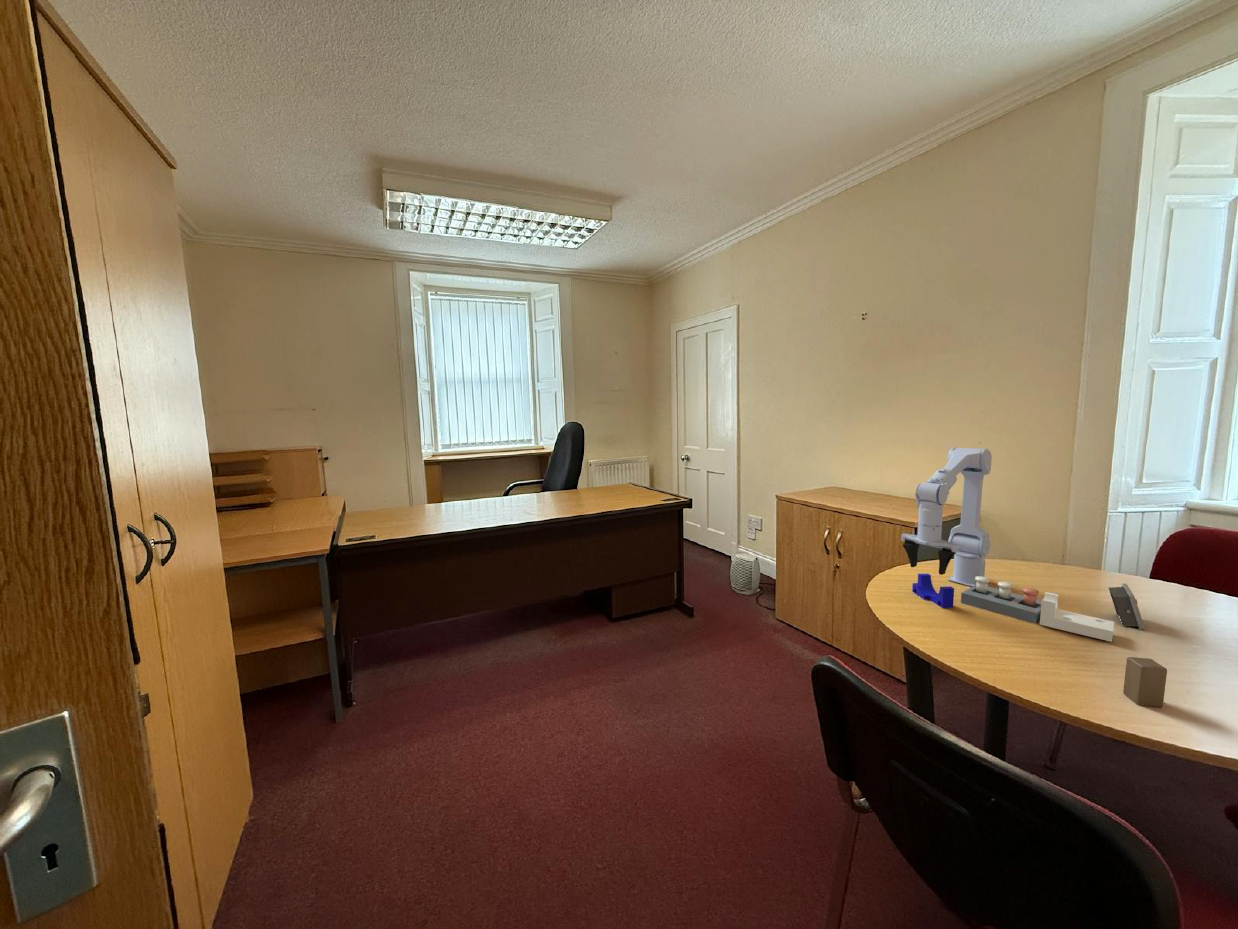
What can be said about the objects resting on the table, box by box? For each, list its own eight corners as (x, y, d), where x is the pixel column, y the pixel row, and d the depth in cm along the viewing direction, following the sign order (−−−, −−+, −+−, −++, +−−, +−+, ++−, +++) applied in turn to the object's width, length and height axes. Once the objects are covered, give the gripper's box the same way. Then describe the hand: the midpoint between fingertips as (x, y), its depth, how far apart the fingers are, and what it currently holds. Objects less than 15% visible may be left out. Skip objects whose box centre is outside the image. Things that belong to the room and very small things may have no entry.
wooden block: (1146, 696, 94) (1151, 658, 93) (1163, 708, 90) (1168, 669, 89) (1121, 693, 95) (1125, 655, 94) (1137, 705, 91) (1142, 666, 90)
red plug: (1023, 599, 132) (1024, 586, 131) (1039, 603, 129) (1040, 590, 128) (1019, 602, 130) (1020, 589, 129) (1035, 607, 127) (1036, 593, 127)
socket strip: (977, 593, 144) (977, 584, 144) (1049, 613, 130) (1050, 602, 130) (960, 602, 138) (961, 592, 138) (1035, 624, 124) (1036, 613, 124)
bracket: (1039, 628, 123) (1041, 600, 122) (1043, 619, 127) (1045, 592, 127) (1111, 645, 113) (1114, 615, 112) (1112, 635, 118) (1115, 606, 117)
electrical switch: (1145, 631, 119) (1143, 595, 118) (1115, 628, 122) (1113, 592, 122) (1136, 618, 126) (1135, 583, 125) (1109, 614, 129) (1107, 581, 129)
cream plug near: (977, 587, 141) (978, 575, 140) (991, 591, 138) (991, 578, 138) (972, 590, 139) (973, 577, 139) (986, 594, 136) (987, 581, 136)
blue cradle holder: (912, 592, 147) (913, 573, 146) (926, 592, 147) (927, 573, 146) (937, 608, 135) (938, 588, 135) (953, 608, 135) (954, 588, 134)
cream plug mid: (999, 593, 136) (1000, 580, 136) (1014, 597, 133) (1015, 584, 133) (995, 596, 134) (995, 583, 134) (1009, 600, 132) (1010, 587, 131)
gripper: (896, 521, 140) (894, 566, 141) (951, 532, 128) (948, 580, 129) (909, 518, 143) (907, 561, 145) (963, 527, 131) (960, 574, 133)
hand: (927, 570), depth 137 cm, fingers open, 7 cm apart
